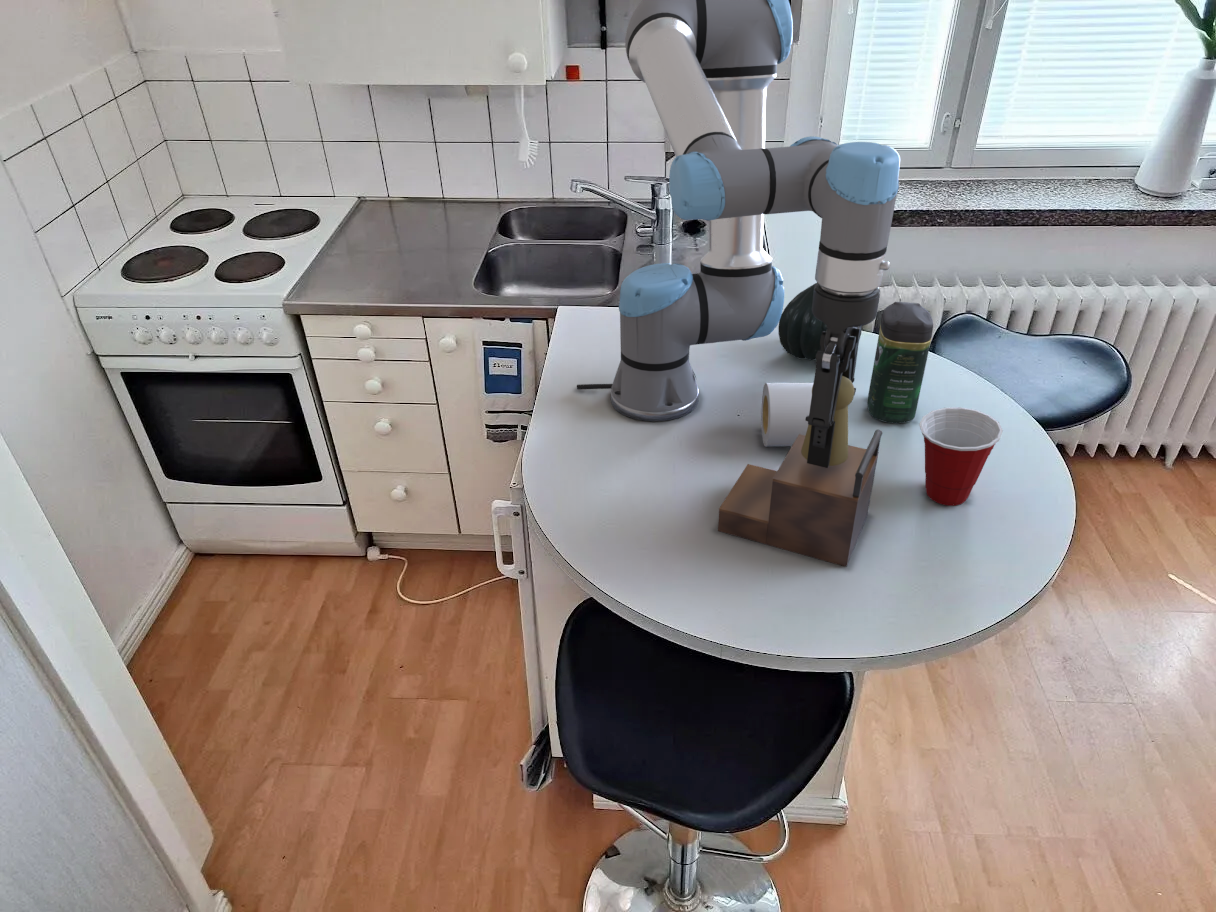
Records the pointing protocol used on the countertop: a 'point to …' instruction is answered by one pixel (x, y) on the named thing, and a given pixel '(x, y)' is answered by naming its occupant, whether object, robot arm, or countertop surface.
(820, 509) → the brown wooden stepped block
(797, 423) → the toilet paper
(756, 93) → the robot arm
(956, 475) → the plastic cup
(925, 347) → the coffee jar
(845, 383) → the pale yellow rounded piece
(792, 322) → the squash
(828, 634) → the countertop surface
